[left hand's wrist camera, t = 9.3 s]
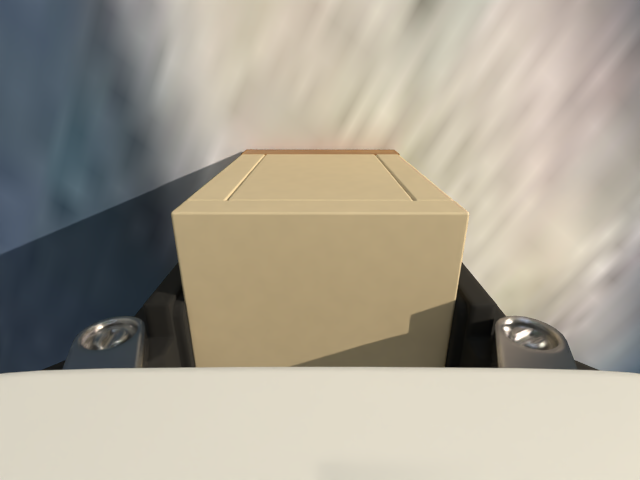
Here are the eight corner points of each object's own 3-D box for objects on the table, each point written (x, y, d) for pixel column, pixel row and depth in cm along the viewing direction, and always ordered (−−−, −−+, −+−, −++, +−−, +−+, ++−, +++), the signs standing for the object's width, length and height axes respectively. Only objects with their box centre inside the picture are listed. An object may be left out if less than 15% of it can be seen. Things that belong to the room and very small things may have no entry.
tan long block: (367, 514, 23) (389, 719, 15) (272, 514, 23) (249, 718, 15) (394, 149, 14) (471, 212, 7) (246, 149, 14) (168, 211, 7)
